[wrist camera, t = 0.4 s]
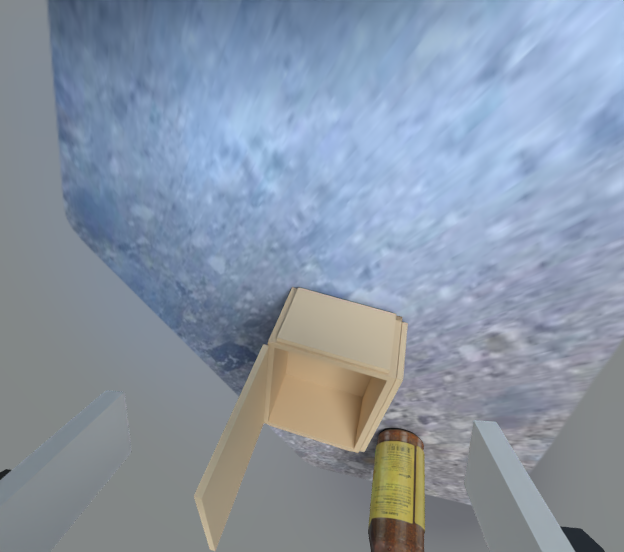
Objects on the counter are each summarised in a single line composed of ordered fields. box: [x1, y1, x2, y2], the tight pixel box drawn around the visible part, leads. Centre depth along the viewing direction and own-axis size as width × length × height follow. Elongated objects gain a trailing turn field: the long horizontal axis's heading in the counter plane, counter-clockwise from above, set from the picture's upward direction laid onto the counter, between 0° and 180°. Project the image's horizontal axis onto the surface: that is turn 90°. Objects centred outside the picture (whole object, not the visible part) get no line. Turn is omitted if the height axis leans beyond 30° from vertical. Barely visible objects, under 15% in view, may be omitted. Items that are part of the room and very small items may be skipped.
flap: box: [194, 344, 269, 551], centre depth 31 cm, size 14×1×12 cm, turn 172°
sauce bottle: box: [368, 429, 425, 552], centre depth 42 cm, size 6×6×20 cm
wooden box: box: [264, 287, 408, 453], centre depth 38 cm, size 16×12×7 cm
